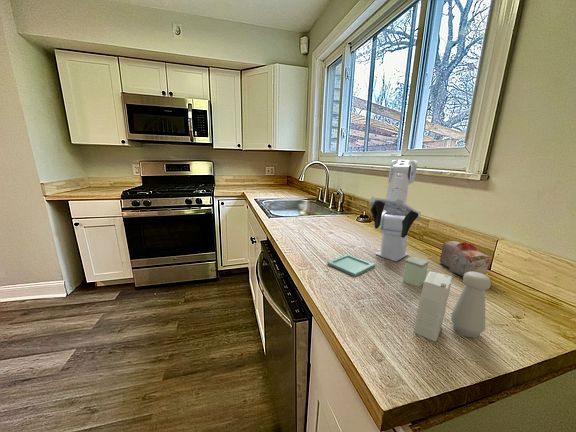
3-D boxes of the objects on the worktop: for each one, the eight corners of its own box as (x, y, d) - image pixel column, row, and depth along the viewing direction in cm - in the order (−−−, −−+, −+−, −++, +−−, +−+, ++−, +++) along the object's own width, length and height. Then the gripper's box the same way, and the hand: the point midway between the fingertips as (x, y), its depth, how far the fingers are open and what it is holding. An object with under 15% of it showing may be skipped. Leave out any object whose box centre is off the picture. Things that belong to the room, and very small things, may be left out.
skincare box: (419, 318, 53) (427, 269, 51) (442, 327, 51) (453, 276, 48) (412, 333, 49) (421, 280, 46) (438, 344, 46) (448, 288, 43)
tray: (347, 256, 87) (347, 253, 87) (374, 266, 79) (374, 264, 78) (327, 264, 80) (327, 261, 80) (354, 276, 72) (355, 273, 72)
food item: (490, 282, 70) (498, 251, 68) (465, 282, 70) (472, 251, 67) (456, 262, 83) (461, 236, 81) (434, 262, 83) (439, 236, 81)
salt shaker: (489, 343, 46) (504, 283, 43) (456, 338, 47) (469, 280, 44) (473, 323, 52) (485, 269, 49) (444, 320, 53) (454, 266, 50)
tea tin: (409, 276, 73) (412, 256, 71) (425, 282, 69) (428, 261, 68) (402, 280, 70) (405, 260, 68) (418, 287, 67) (422, 265, 65)
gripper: (378, 179, 71) (370, 215, 64) (427, 194, 69) (424, 233, 62) (370, 193, 77) (361, 227, 70) (415, 207, 75) (410, 244, 68)
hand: (390, 231), depth 67 cm, fingers open, 7 cm apart
